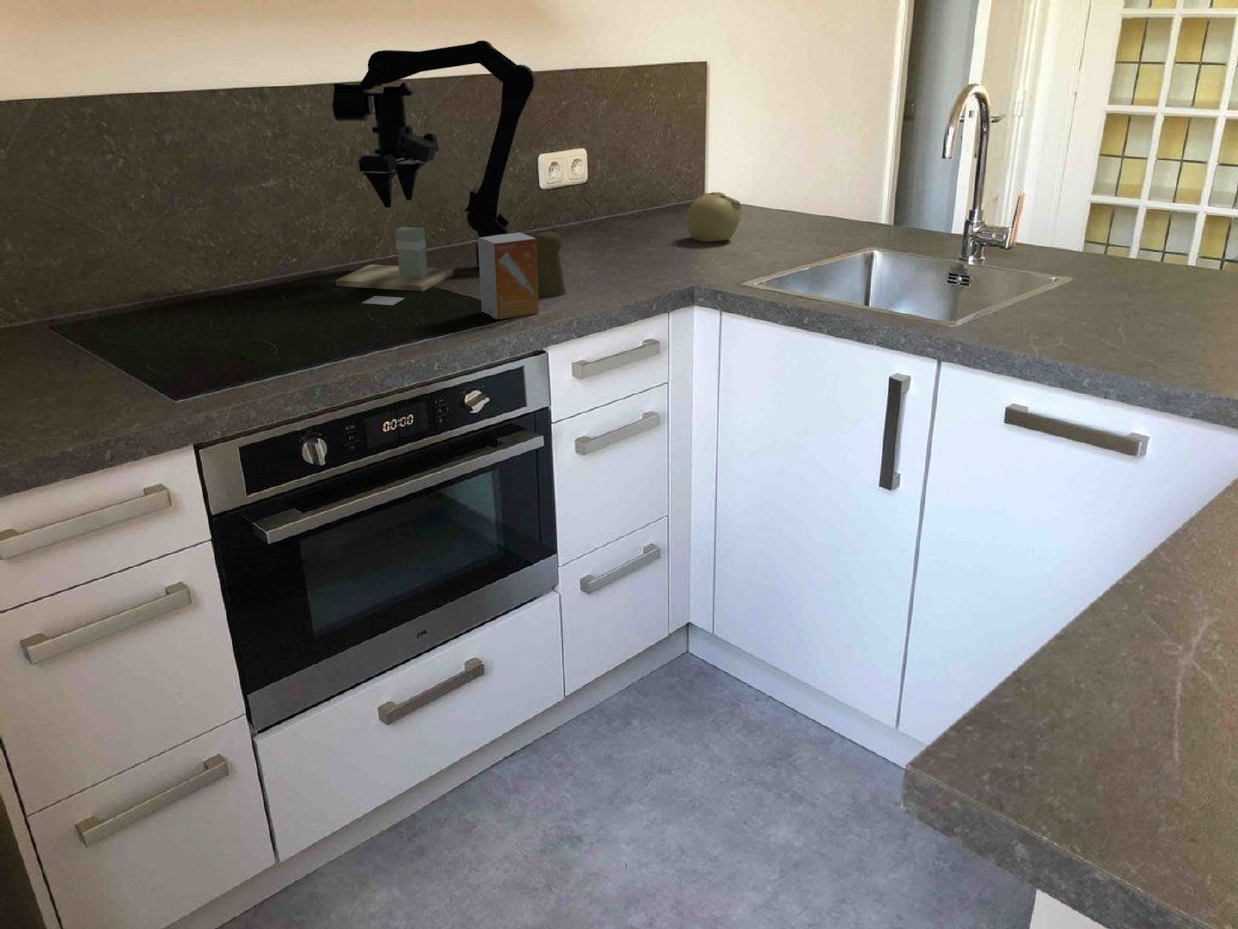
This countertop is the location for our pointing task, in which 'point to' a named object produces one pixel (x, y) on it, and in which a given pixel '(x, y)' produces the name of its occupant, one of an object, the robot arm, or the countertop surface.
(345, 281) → the oak board
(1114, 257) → the countertop surface
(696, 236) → the green persimmon
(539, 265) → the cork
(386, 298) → the white flat rectangular tile
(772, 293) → the countertop surface
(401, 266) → the carton
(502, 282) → the small box
